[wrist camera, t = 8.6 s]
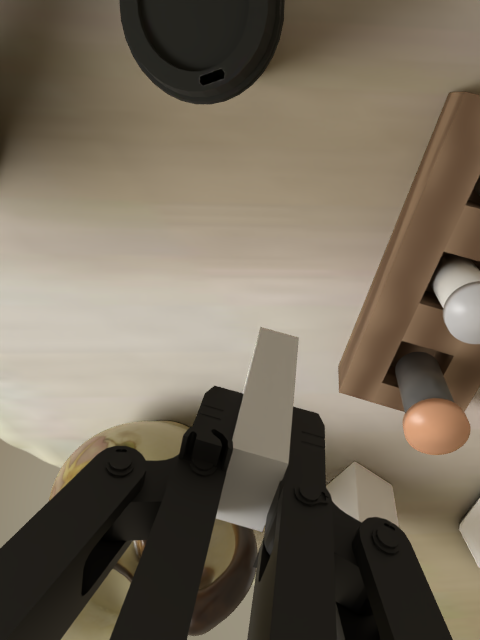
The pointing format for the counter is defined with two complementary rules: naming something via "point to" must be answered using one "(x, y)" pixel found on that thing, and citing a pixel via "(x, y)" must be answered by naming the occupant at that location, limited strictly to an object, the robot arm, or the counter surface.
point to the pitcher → (221, 561)
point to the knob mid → (459, 296)
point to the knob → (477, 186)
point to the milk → (363, 494)
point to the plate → (472, 530)
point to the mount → (423, 269)
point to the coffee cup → (202, 44)
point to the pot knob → (429, 406)
